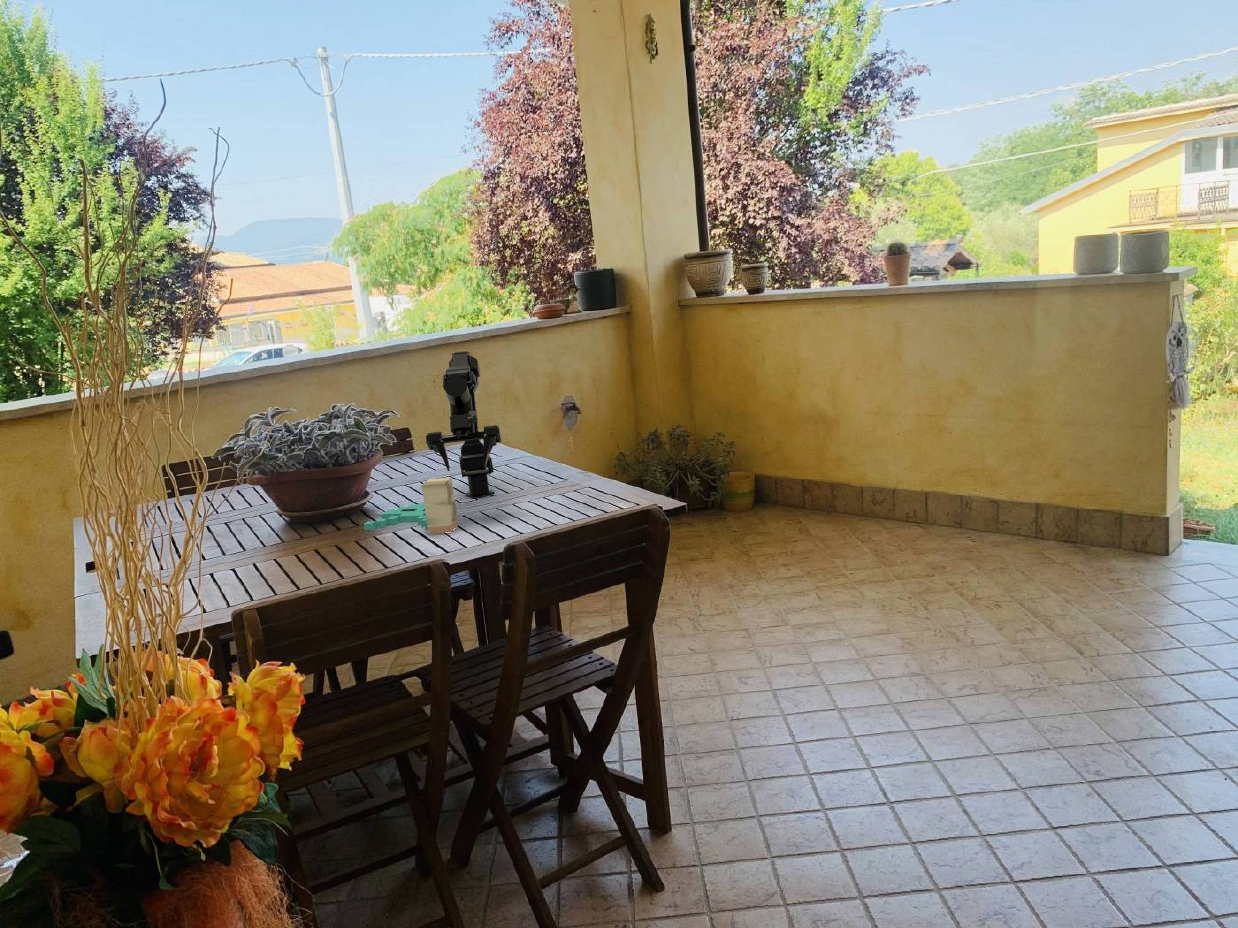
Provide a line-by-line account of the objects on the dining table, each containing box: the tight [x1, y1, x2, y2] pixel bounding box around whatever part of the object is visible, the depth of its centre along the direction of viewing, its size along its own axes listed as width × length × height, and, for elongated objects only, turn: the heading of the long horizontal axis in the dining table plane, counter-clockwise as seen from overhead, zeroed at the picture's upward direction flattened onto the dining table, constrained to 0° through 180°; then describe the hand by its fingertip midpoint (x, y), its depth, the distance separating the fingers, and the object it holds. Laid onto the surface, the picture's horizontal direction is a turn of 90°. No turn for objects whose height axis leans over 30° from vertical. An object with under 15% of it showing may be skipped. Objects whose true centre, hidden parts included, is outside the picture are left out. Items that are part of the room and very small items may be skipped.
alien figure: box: [363, 501, 428, 531], centre depth 247 cm, size 20×2×20 cm
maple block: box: [421, 477, 459, 535], centre depth 232 cm, size 6×6×13 cm
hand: (466, 468), depth 233 cm, fingers open, 9 cm apart
